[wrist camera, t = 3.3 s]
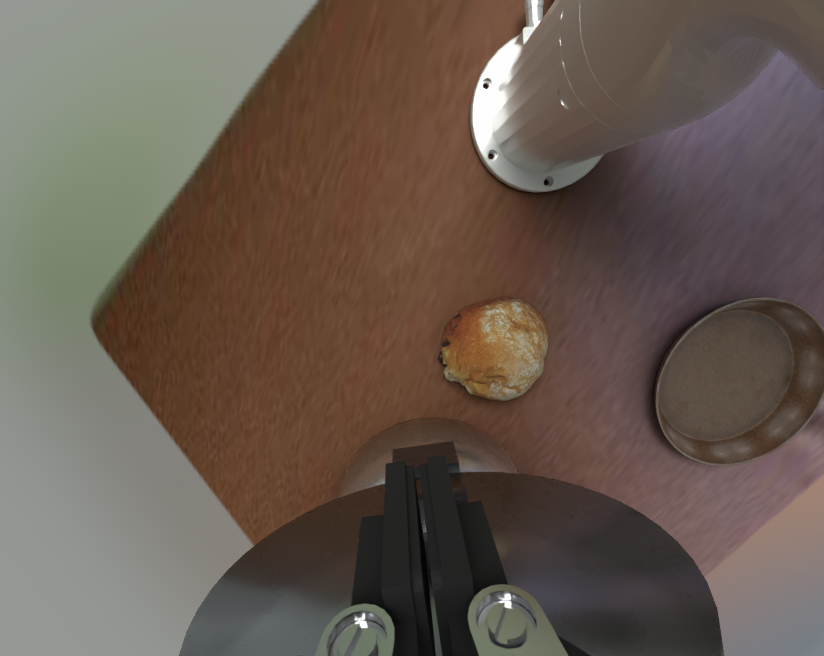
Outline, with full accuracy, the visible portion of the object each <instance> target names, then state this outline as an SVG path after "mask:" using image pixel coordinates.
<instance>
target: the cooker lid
mask: <svg viewBox="0 0 824 656" xmlns="http://www.w3.org/2000/svg"><path fill="white" fill-rule="evenodd" d="M449 476H450V480H451V485H452V489H453V493H454V498H455V502H456V504H461V503H468V502H475V501H481V502H482V505H483V507H484V511H485V514H486V517H487V520H488V523H489V526H490V529H491V532H492V535H493V539H494V542H495V545H496V548H497V551H498V554H499V557H500V560H501V563H502V567H503V570H504V573H505V576H506V579H507V582H508V585H513V586H516V587H518V588H520V589H523V590H525V591H526V592H527V593H529V594H530V595H531V596H533V597H534V598H535V600H536V601H537V602H538V604H539V605H540V606H541V608H542V610H543V611H544V613H545V615H546V617H547V619H548V620H549V622H550V624H551V626H552V627H553V629H554V631H555V633H556V634H557V635H558V636H560V637H561V638H563V639H565V640H566V641H568V642H570V643H571V644H573V645H575V646H576V647H578V648H579V649H581V650H583V651H584V652H586V653H588V654H589V655H591V656H724V650H723V644H722V637H721V630H720V624H719V617H718V611H717V607H716V604H715V602H714V599H713V596H712V594H711V591H710V589H709V586H708V583H707V581H706V580H705V578H704V577H703V575H702V573H701V572H700V570H699V568H698V567H697V565H696V564H695V562H694V560H693V559H692V558H691V557H690V556H689V555H688V553H687V552H686V551H685V550H684V549H683V548H682V547H681V545H680V544H679V543H678V542H677V541H676V540H675V539H674V538H673V537H671V536H670V535H669V534H668V533H667V532H666V531H665V530H663V529H662V528H661V527H660V526H659V525H657V524H656V523H654V522H653V521H652V520H650V519H649V518H647V517H646V516H644V515H643V514H641V513H640V512H638V511H636V510H634V509H633V508H631V507H629V506H627V505H625V504H623V503H622V502H620V501H617V500H615V499H613V498H611V497H608V496H606V495H604V494H601V493H599V492H596V491H593V490H590V489H587V488H584V487H582V486H578V485H574V484H571V483H567V482H563V481H559V480H555V479H550V478H545V477H539V476H532V475H525V474H516V473H505V472H455V473H449ZM415 481H416V488H417V495H418V502H419V509H420V515H421V522H422V529H423V536H424V543H425V551H426V559H427V570H428V580H429V590H430V600H431V610H432V621H433V631H434V641H435V651H436V656H442V650H441V643H440V636H439V629H438V623H437V616H436V609H435V602H434V595H433V587H432V579H431V571H430V562H429V552H428V543H427V534H426V524H425V515H424V505H423V496H422V486H421V477H420V476H419V477H415ZM384 496H385V484H381V485H377V486H373V487H370V488H367V489H364V490H360V491H357V492H354V493H351V494H349V495H346V496H343V497H341V498H338V499H335V500H333V501H331V502H328V503H326V504H324V505H321V506H319V507H317V508H315V509H313V510H311V511H309V512H307V513H305V514H303V515H301V516H299V517H297V518H296V519H294V520H292V521H290V522H289V523H287V524H285V525H284V526H282V527H280V528H279V529H277V530H276V531H274V532H273V533H272V534H270V535H269V536H267V537H266V538H264V539H263V540H261V541H260V542H259V543H258V544H256V545H255V546H254V547H253V548H251V550H249V551H248V552H246V553H245V554H244V555H243V556H242V557H241V558H240V559H239V560H238V561H237V562H236V563H235V564H234V565H233V566H232V567H231V568H229V569H228V570H227V572H226V573H225V574H224V575H223V576H222V577H221V578H220V580H219V581H218V582H217V583H216V584H215V586H214V587H213V588H212V589H211V591H210V592H209V594H208V595H207V596H206V598H205V600H204V601H203V602H202V604H201V606H200V607H199V608H198V610H197V612H196V614H195V616H194V618H193V620H192V622H191V624H190V626H189V628H188V630H187V632H186V635H185V639H184V642H183V645H182V648H181V651H180V654H179V656H315V654H316V651H317V648H318V645H319V642H320V639H321V636H322V634H323V632H324V630H325V628H326V626H327V625H328V624H329V623H330V622H331V620H332V619H333V618H334V617H335V616H336V615H338V614H339V613H340V612H342V611H343V610H345V609H347V608H349V607H351V602H352V593H353V585H354V576H355V567H356V558H357V550H358V541H359V532H360V524H361V519H362V517H369V516H376V515H383V514H384Z"/></svg>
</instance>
